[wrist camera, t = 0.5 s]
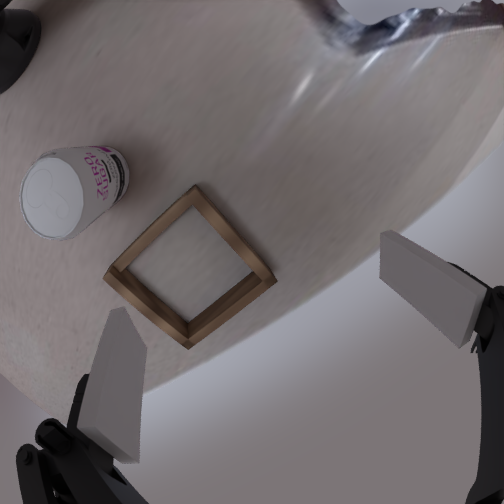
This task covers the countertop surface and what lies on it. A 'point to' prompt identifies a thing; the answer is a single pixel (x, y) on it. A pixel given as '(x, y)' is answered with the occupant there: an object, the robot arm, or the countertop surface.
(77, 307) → the countertop surface
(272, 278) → the dock bay
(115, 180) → the supplement can
